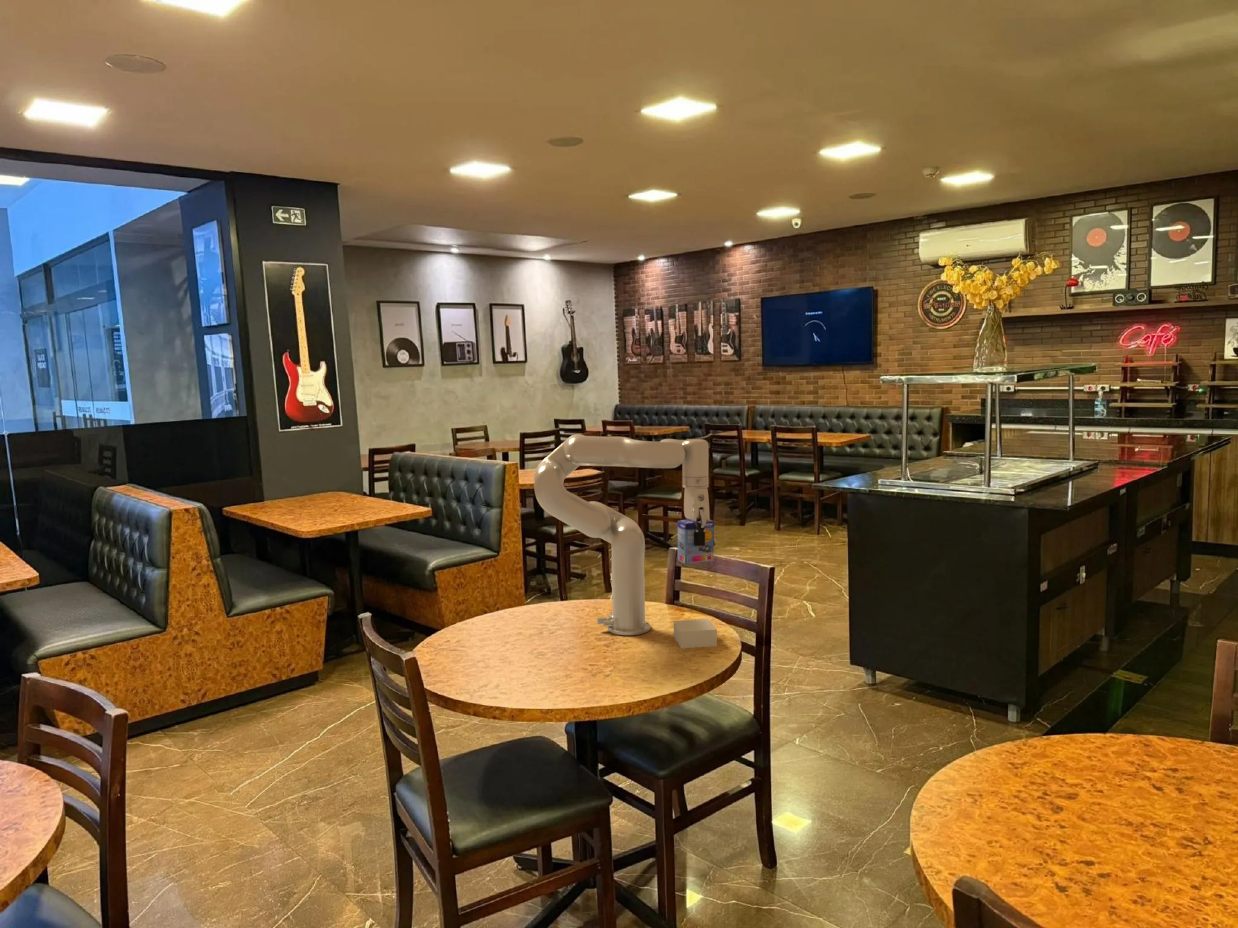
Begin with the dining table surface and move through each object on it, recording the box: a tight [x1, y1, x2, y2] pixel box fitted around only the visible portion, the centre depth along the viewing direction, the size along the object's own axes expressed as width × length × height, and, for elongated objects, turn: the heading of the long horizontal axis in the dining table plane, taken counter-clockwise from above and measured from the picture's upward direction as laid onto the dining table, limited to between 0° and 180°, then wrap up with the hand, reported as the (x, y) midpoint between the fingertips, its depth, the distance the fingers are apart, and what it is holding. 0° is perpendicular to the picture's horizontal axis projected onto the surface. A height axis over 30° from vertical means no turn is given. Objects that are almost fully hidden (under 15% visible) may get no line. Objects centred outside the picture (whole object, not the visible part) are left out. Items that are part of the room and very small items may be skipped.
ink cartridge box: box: [677, 519, 715, 565], centre depth 247 cm, size 10×6×14 cm, turn 115°
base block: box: [673, 618, 718, 649], centre depth 236 cm, size 10×10×5 cm
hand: (695, 542), depth 247 cm, fingers closed on ink cartridge box, 5 cm apart
